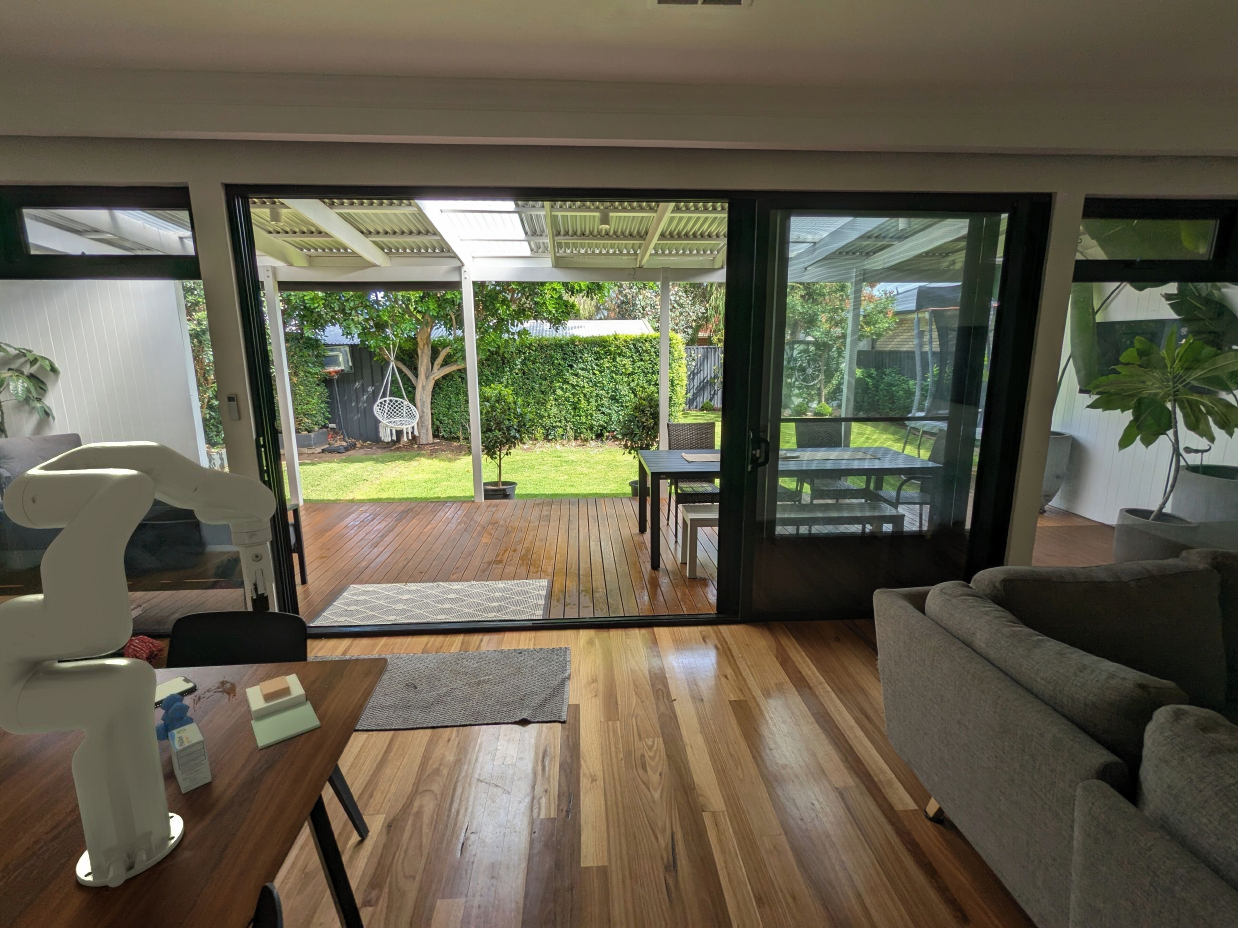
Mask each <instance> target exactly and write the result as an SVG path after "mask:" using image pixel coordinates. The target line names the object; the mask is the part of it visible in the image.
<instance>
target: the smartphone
mask: <svg viewBox="0 0 1238 928" xmlns="http://www.w3.org/2000/svg"><path fill="white" fill-rule="evenodd" d="M196 688H197V684H196V683H195V682H193V681H192V680H190V679H189V678H188V677H186V676H178V677H175V678H173V679H169V680H168V681H165V682H162V683H159V684H158V685H157V684H156V696H155V706H157V705H160V704H162V702H163V700H164V699H165V698H166V697H167V696H169V695H170V694H173V693H175V694H178V695H180V696H182V695H184V694H186V693H189V692H191V693H193V692H195V691H196V690H197V689H198V688H197V689H196ZM195 689H196V690H195ZM194 690H195V691H194ZM192 691H193V692H192ZM189 694H190V693H189ZM186 695H187V694H186ZM184 696H185V695H184ZM182 697H183V696H182ZM160 706H161V705H160Z"/></svg>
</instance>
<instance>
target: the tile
mask: <svg viewBox="0 0 1238 928" xmlns="http://www.w3.org/2000/svg"><path fill="white" fill-rule="evenodd" d="M258 685H260V691H261V693H262V696H263V699H264V701H266V700H269V699H272V698H275V697H278V696H281V695H284V694H287V693H290V686H289V684H288V682H287V680H286V676H285V675H281V676H277V677H275V678H271V679H268V680H265V681H263V682H259V683H258Z"/></svg>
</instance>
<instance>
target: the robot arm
mask: <svg viewBox="0 0 1238 928" xmlns="http://www.w3.org/2000/svg"><path fill="white" fill-rule="evenodd" d="M155 499H156V500H159V501H161V502H163V503H165V504H168V505H169V506H173V507H175V508H178V509H185V510H186V509H187V510H193V512H194V515H195V516H196V517H195V518H197V520H199V521H200V522H202V523H205V524H207V525H229V526H230V532H231V533H230V534H231V541H232V546H233V547H237V548H239V553H240V560H241V566H242V567H241V568H242V572H243V575H244V578H245V582H246V583H247V585H248V587H249V589H250V594H251V596H250V601H251V608H252V609H251V610H252V613H253V615H258V614H262V613H266V612H269V611H270V610H271V608H270V601H269V600H270V599H269V594H268V589H267V584H270V585H273V584H274V583H275V579H274V572H273V571H274V570H273V565H272V559H271V553H270V547H269V542H271V541H272V540H273V536H272V529H271V521H270V520H271V518H272V517H273V515H274V514H275V512H276V508H277V500H276V497H275V494H274V492H273V491H272V490H271V489H270V488H269V487H268V486H267V485H265V484H264V483H263V482H261V481H259V480H257V479H255V478H251V477H249V476H245V475H240V474H236V473H232V472H228V471H225V470H220V469H216V468H212V467H211V468H210V467H204V466H202V465H200V464H198V463H197V462H195V461H194V460H192V459H190V458H188V457H186V456H185V455H182V453H179V452H177V451H176V450H174V449H173V448H170V447H169V446H166V445H164V444H162V443H158V442H154V441H121V442H120V441H117V442H115V441H113V442H94V443H88V444H85V445H81V446H78V447H75V448H73V449H70V450H69V451H66V452H64V453H62V454H59V455H58V456H56V457H53V458H51V459H49V460H47V461H45V462H43V463H40V464H39V465H37V466H34V467H33V468H30V469H28V470H26V471H24V472H23V473H21V474H19V475H17V477H15V478H14V479H13V480H12V481H11V482H10V483H9V484H8V486H7V487H6V488H5V491H4V493H3V497H2V507H3V510H4V513H5V515H6V516H7V517H8V518H9V519H10V520H11V521H12V522H14V523H16V525H19V526H22V527H25V528H29V529H37V530H40V529H41V530H43V529H44V530H45V529H62V530H61V531H60V532H59V533H58V535H57V536H56V537H55V538H54V539H53V541H52V542H51V543H50V545H49V546H48V547H47V549H46V550H45V552H44V554H43V556H42V559H41V561H40V562H41V563H40V578H41V586H42V593H36V594H27V595H21V596H17V597H14V598H11V599H8V600H6V601H5V602H3V603H1V604H0V728H1V729H2V730H4V731H5V732H7V733H9V734H13V735H18V736H19V735H20V736H21V735H22V736H23V735H39V734H47V733H57V732H67V731H68V732H71V731H73V732H74V731H83V732H84V734H85V736H84V739H83V740H82V741H81V743H80V744H79V746H78V747H77V749H76V750H75V751H74V754H73V755H72V759H71V772H72V778H73V780H74V786H75V791H76V797H77V802H78V807H79V813H80V818H81V822H82V823H81V824H82V829H83V834H84V839H85V845H86V850H85V851H84V852H83V854H81V855H82V856H80V858H79V860H78V862H77V864H76V866H75V876H76V879H77V882H78V883H80V884H81V885H83V886H86V887H103V886H104V887H105V886H108V887H110V888H115V887H118V886H120V885H122V884H124V882H125V881H126V880H128V879H130V878H133V877H134V876H137V875H139V874H140V873H143V872H144V871H146V870H148V869H150V868H152V867H153V866H154V865H156V864H157V863H158V862H160V861H162V860H163V858H166V856H167V855H169V854H170V853H171V852H172V851H173V849H174V848H176V847H177V845H178V844H179V843H180V841H181V840H182V838H183V835H184V832H185V823H184V819H183V818H182V817H181V816H180V815H179V814H176V813H173V812H172V813H171V812H170V811H169V805H168V799H167V793H166V791H167V790H166V786H165V779H164V773H163V767H162V760H161V754H160V748H159V743H158V740H157V735H156V728H155V727H156V720H155V719H156V718H155V709H156V707H155V696H156V686H157V683H158V682H157V680H158V679H157V674H156V670H155V668H154V667H153V666H152V665H151V664H150V663H149V662H148V661H145V660H143V659H139V658H132V657H112V658H111V657H110V658H109V657H108V658H99V659H98V658H97V659H87V658H95V657H100V656H104V655H108V654H111V653H114V652H116V651H118V650H119V649H122V648H123V647H124V646H125V645H126V644H127V643H129V641H130V639H131V636H132V634H133V628H134V627H133V626H134V624H133V622H134V621H133V613H132V606H131V600H130V593H129V589H128V588H129V587H128V582H127V577H126V570H125V563H124V562H125V561H124V560H125V552H126V548H127V545H128V542H129V540H130V538H131V536H132V535H133V533H134V532H135V530H136V528H137V527H138V525H139V524H140V523H141V522H142V520H143V519H144V517H145V516H146V515H147V513H148V512H149V511H150V509H151V507H152V506H153V503H154V501H155ZM85 658H86V659H87V660H79V661H78V660H77V661H70V662H69V660H76V659H85ZM66 660H68V661H67V662H66ZM58 661H65V662H58Z"/></svg>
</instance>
